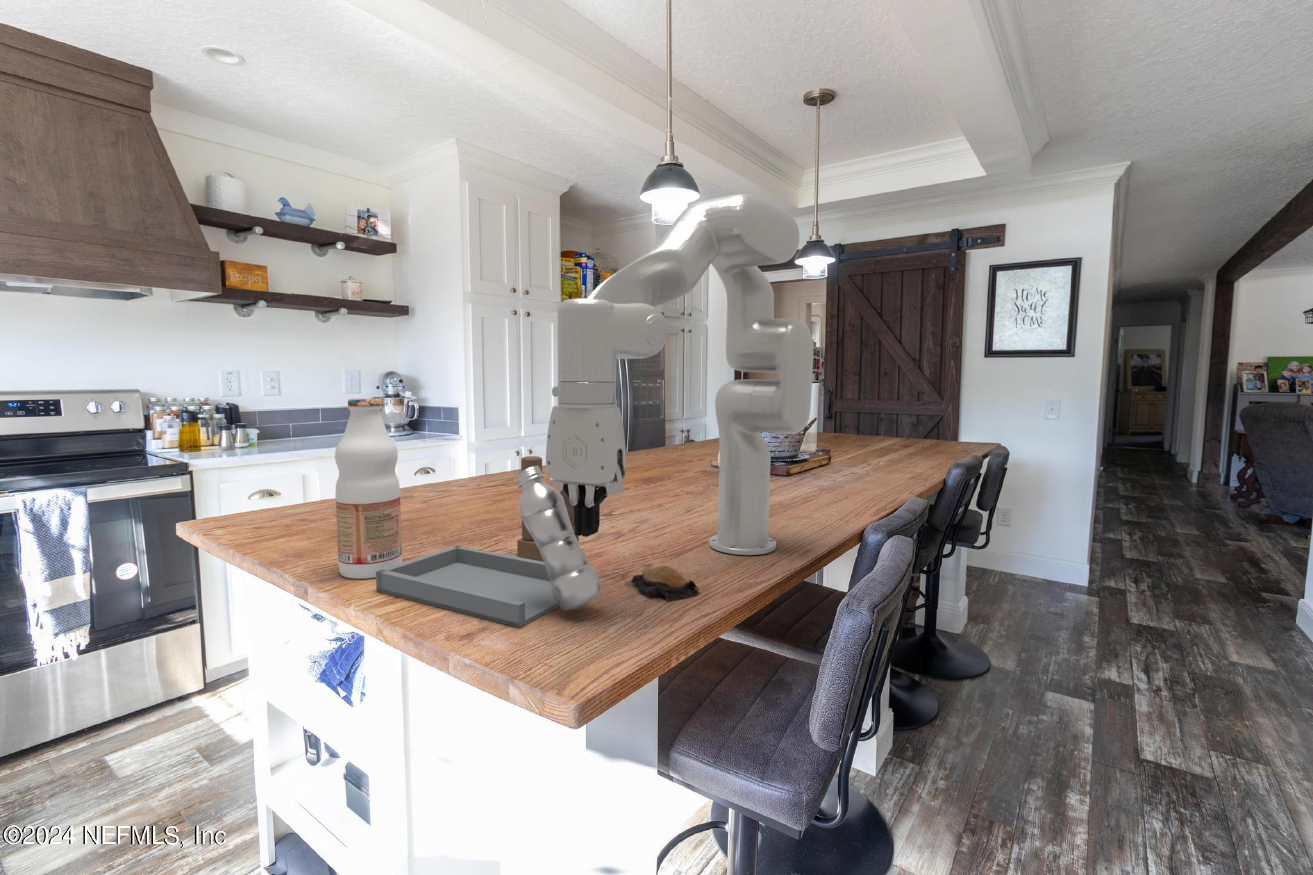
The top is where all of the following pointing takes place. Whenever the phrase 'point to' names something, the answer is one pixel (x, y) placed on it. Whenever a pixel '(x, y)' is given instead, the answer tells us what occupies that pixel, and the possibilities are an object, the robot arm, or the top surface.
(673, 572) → the bread roll
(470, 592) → the tray
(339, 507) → the fruit juice
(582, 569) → the plastic bottle
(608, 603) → the top surface
